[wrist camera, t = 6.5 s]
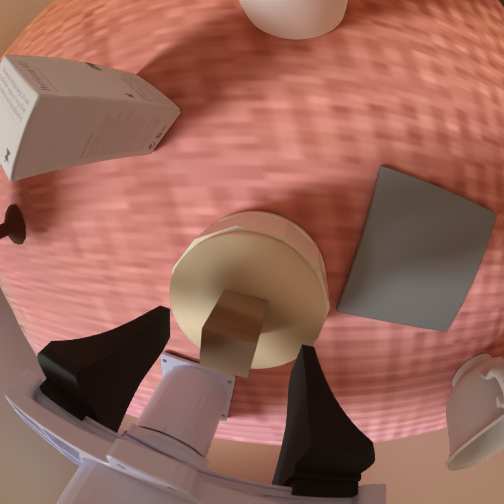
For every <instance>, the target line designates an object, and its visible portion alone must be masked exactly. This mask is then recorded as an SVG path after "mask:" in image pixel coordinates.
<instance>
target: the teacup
mask: <svg viewBox="0 0 504 504" xmlns="http://www.w3.org/2000/svg"><path fill="white" fill-rule="evenodd" d="M452 387H453V389H452V391H451V393H450V395H449V397H448V400H447V404H446V419H447V426H448V434H449V444H450V454H449V459H448V460H447V462H446V464H445V468H446V469H448V470H454V471H455V470H461V469H465V468H468V467H471V466H473V465H476V464H478V463H480V462H482V461H484V460H486V459H487V458H490V457H491V456H493V455H495V454H496V453H498V452H499V451H501V450H502V449H504V358H503V357H494V358H492V357H491V356H490V355H489V354H487V353H483V354H479V355H477V356H475V357H473V358H471V359H470V360H468V361H467V362H466V363H465V364H463V365H462V366H461V367H460V368H459V370H458V371H457V372H456V374H455V375H454V377H453V380H452Z"/></svg>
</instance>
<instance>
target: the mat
mask: <svg viewBox="0 0 504 504" xmlns="http://www.w3.org/2000/svg"><path fill="white" fill-rule="evenodd" d="M496 216H497V214H496V213H494V212H492V211H490V210H488V209H486V208H484V207H482V206H480V205H478V204H476V203H474V202H472V201H470V200H468V199H466V198H463V197H461V196H459V195H457V194H454V193H452V192H450V191H447V190H445V189H443V188H440V187H438V186H435V185H433V184H430V183H428V182H425V181H423V180H420V179H417V178H415V177H412V176H409V175H406V174H404V173H401V172H398V171H395V170H392V169H389V168H386V167H383V166H380V168H379V172H378V176H377V180H376V184H375V188H374V192H373V196H372V200H371V204H370V207H369V211H368V215H367V218H366V222H365V225H364V229H363V232H362V235H361V238H360V242H359V245H358V248H357V251H356V254H355V257H354V260H353V263H352V266H351V269H350V272H349V275H348V278H347V281H346V283H345V286H344V289H343V292H342V294H341V297H340V300H339V302H338V305H337V307H336V309H337V312H342V313H346V314H351V315H356V316H361V317H366V318H371V319H376V320H381V321H387V322H392V323H397V324H403V325H408V326H414V327H420V328H426V329H432V330H438V331H444V332H447V330H448V328H449V327H450V325H451V323H452V321H453V320H454V318H455V316H456V314H457V312H458V310H459V308H460V307H461V305H462V303H463V301H464V299H465V297H466V294H467V292H468V290H469V288H470V286H471V284H472V282H473V279H474V277H475V275H476V272H477V270H478V268H479V265H480V263H481V260H482V258H483V255H484V252H485V250H486V247H487V244H488V241H489V239H490V236H491V233H492V230H493V226H494V223H495V220H496Z"/></svg>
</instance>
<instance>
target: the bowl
mask: <svg viewBox="0 0 504 504" xmlns="http://www.w3.org/2000/svg"><path fill="white" fill-rule="evenodd" d="M231 231H250V232H256V233H261V234H265V235H268V236H271V237H273V238H276V239H278V240H280V241H282V242H284V243H286V244H287V245H289V246H291V247H292V248H293V249H295V250H296V251H297V252H298V253H300V254H301V255H302V256H303V257H304V258H305V259H306V260H307V261H308V263H309V264H310V265H311V267H312V268H313V269H314V271H315V273H316V275H317V277H318V278H319V281H320V284H321V286H322V290H323V295H324V307H325V315H324V322H325V319H326V317H327V314H328V312H329V309H330V301H329V291H328V283H327V279H326V269H325V264H324V260H323V257H322V254H321V252H320V250H319V248H318V246H317V244H316V243H315V242H314V240H313V239H312V237H311V236H310V235H309V234H308V233H307V232H306V231H305V230H304V229H303V228H301V227H300V226H299V225H298V224H296V223H294V222H293V221H291V220H290V219H288V218H285V217H283V216H281V215H278V214H274V213H271V212H265V211H243V212H238V213H234V214H231V215H229V216H226V217H224V218H222V219H221V220H219V221H217V222H216V223H214V224H212V225H211V226H209V227H208V228H207V229H206V230H205V231H204V232H202V233H201V234H200V235H199V236H198V237H197V238H195V239H194V241H193V242H192V243H191V245H190V246H189V247H188V249H187V250H186V251H185V253H184V254H183V255H182V257H181V258H180V259H179V261H180V260H181V259H182V258H183V257H184V256H185V254H186V253H187V252H189V251H190V250H191V249H192V248H193V247H194V246H195V245H197V244H198V243H199V242H201V241H203V240H204V239H206V238H208V237H211V236H213V235H216V234H220V233H224V232H231ZM179 261H178V262H177V263H176V265H175V266H174V267H173V273H174V270H175V268H176V266H177V265H178V263H179ZM324 322H323V325H324ZM322 327H323V326H322ZM321 330H322V329H321ZM318 337H319V336H318ZM317 339H318V338H317ZM317 339H316V341H317ZM316 341H315V342H316Z"/></svg>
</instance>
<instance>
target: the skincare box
mask: <svg viewBox="0 0 504 504" xmlns="http://www.w3.org/2000/svg"><path fill="white" fill-rule="evenodd" d="M180 113H181V111H180V109H179V107H177V106H176V105H175V104H174V103H173V102H172V101H171V100H170V99H169V98H168V97H166V96H165V95H164V94H163V93H162V92H160V91H159V90H158V89H157V88H155V87H154V86H153V85H151V84H150V83H148V82H147V81H146V80H144V79H143V78H141V77H139V76H138V75H136V74H134V73H130V72H126V71H122V70H118V69H114V68H110V67H105V66H100V65H95V64H91V63H86V62H79V61H73V60H67V59H60V58H51V57H40V56H22V55H5V56H4V57H3V59H2V61H1V63H0V163H1V165H2V167H3V169H4V171H5V173H6V174H7V176H8V178H9V180H10V181H17V180H20V179H24V178H27V177H31V176H35V175H38V174H42V173H47V172H51V171H55V170H59V169H64V168H68V167H73V166H78V165H82V164H88V163H94V162H98V161H105V160H111V159H118V158H124V157H131V156H139V155H147V154H151V153H152V152H153V150H154V149H155V147H156V146H157V145H158V143H159V142H160V141H161V139H162V138H163V136H164V135H165V134H166V132H167V131H168V130H169V128H170V127H171V126H172V124H173V123H174V122H175V120H176V119H177V117H178V116H179V115H180Z"/></svg>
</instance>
